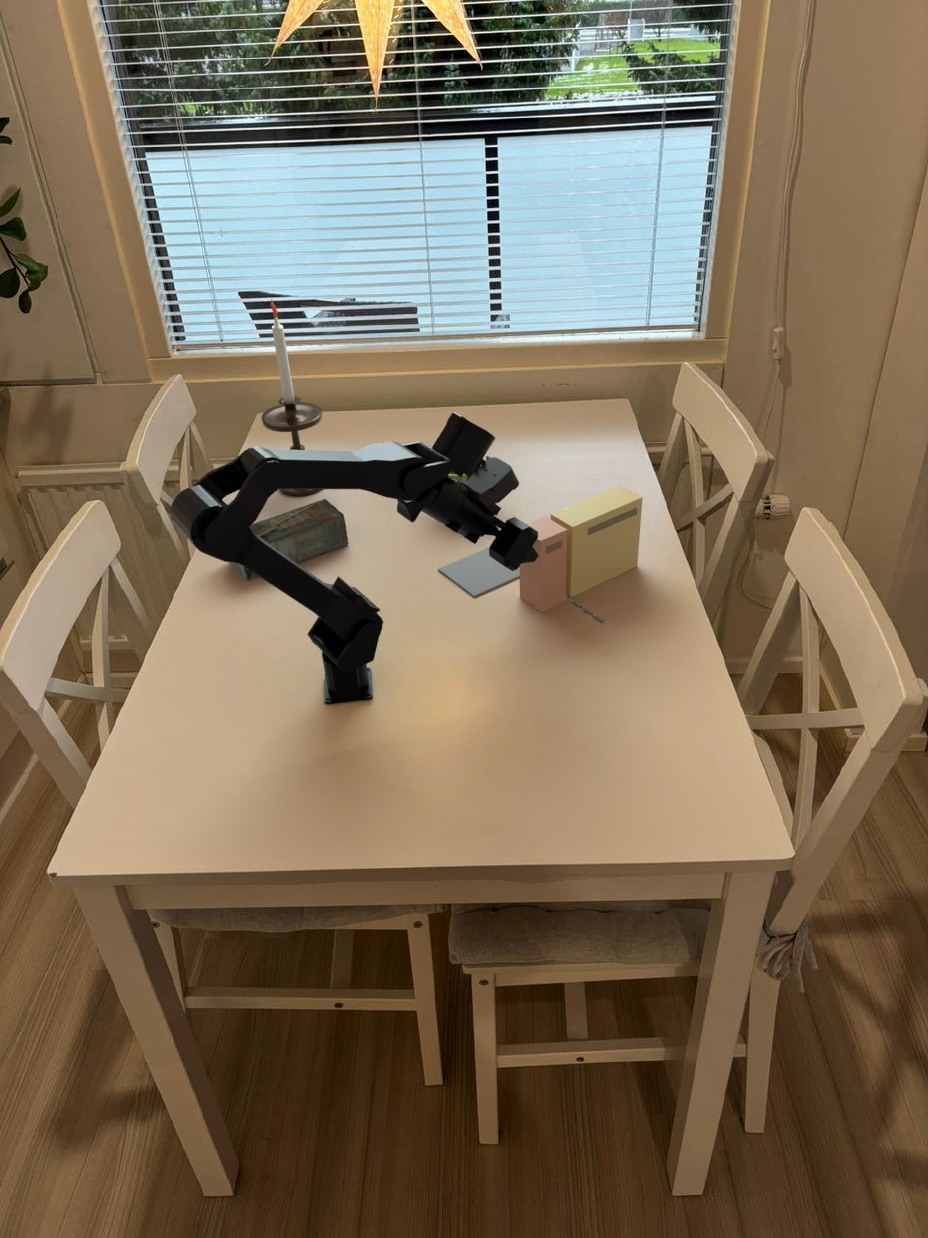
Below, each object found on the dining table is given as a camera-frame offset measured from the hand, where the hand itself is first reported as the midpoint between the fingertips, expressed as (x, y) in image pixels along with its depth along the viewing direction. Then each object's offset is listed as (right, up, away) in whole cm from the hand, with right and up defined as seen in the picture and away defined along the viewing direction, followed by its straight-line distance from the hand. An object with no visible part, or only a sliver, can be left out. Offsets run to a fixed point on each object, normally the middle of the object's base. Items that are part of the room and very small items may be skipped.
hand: (516, 544), depth 134 cm
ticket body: (+13, -4, +14) cm, 19 cm away
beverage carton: (-37, 0, +24) cm, 44 cm away
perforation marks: (+7, -6, +10) cm, 14 cm away
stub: (+5, -8, +9) cm, 13 cm away
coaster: (-5, -3, +16) cm, 17 cm away
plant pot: (-8, +10, +34) cm, 36 cm away
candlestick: (-38, +15, +44) cm, 60 cm away
